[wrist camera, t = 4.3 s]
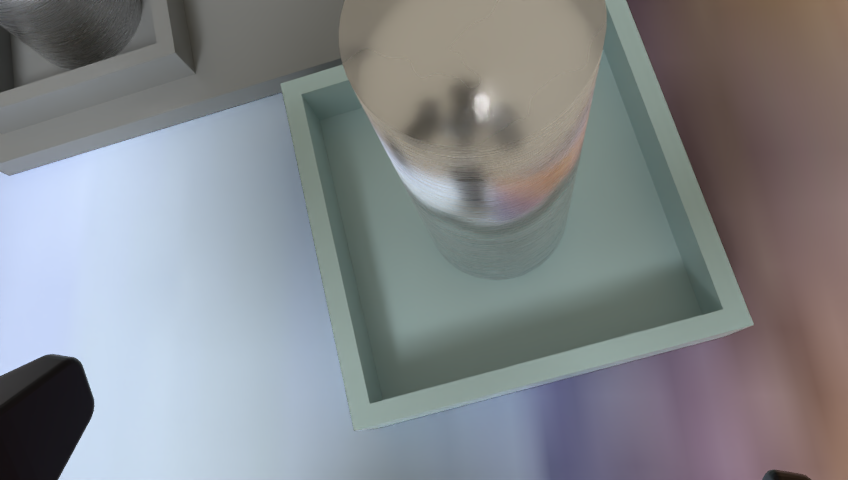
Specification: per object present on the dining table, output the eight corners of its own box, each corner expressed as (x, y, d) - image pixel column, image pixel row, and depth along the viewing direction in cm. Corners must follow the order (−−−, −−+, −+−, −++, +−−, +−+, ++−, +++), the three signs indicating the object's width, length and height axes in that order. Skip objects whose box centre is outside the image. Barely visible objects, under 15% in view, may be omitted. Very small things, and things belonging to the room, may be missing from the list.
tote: (375, 428, 21) (354, 430, 19) (307, 120, 25) (280, 83, 22) (724, 336, 21) (753, 324, 18) (607, 29, 24) (617, -21, 21)
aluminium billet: (446, 296, 21) (370, 180, 11) (413, 168, 23) (315, -46, 12) (585, 257, 21) (645, 99, 10) (543, 130, 22) (559, -125, 12)
